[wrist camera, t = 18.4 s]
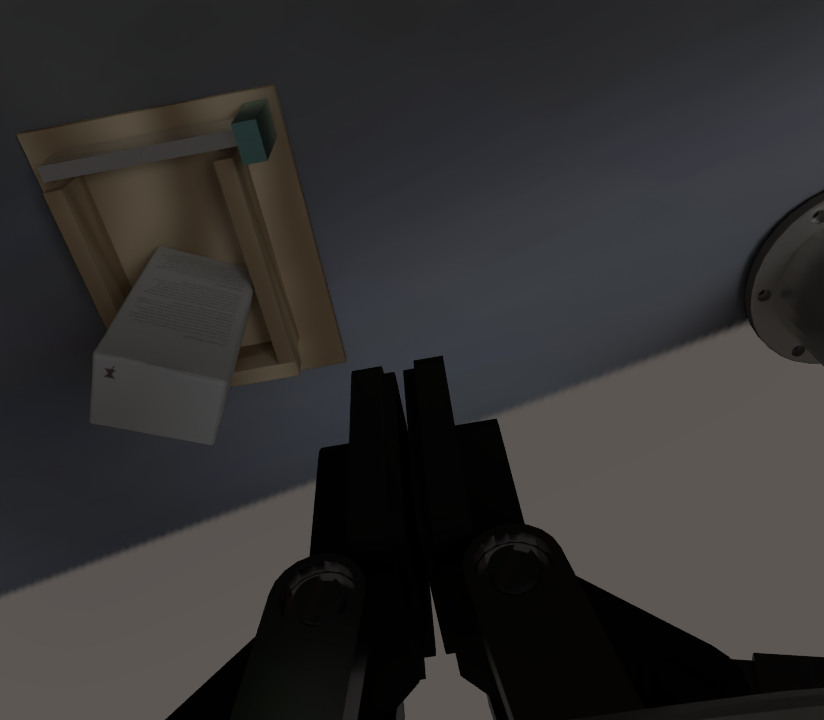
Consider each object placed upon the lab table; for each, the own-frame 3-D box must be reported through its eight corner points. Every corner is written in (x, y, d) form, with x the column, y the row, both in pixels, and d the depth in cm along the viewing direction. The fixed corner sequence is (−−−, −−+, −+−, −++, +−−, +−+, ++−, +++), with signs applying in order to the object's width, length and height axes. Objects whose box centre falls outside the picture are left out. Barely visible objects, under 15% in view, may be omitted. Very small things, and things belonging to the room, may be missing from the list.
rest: (274, 83, 37) (266, 97, 34) (346, 358, 46) (344, 388, 43) (20, 132, 37) (-10, 150, 34) (142, 393, 47) (127, 425, 44)
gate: (267, 98, 36) (255, 119, 33) (277, 136, 37) (267, 160, 34) (53, 139, 37) (18, 164, 33) (70, 175, 38) (37, 204, 34)
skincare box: (150, 305, 43) (83, 424, 33) (158, 242, 41) (89, 349, 31) (249, 328, 44) (214, 450, 34) (262, 268, 42) (228, 379, 32)
